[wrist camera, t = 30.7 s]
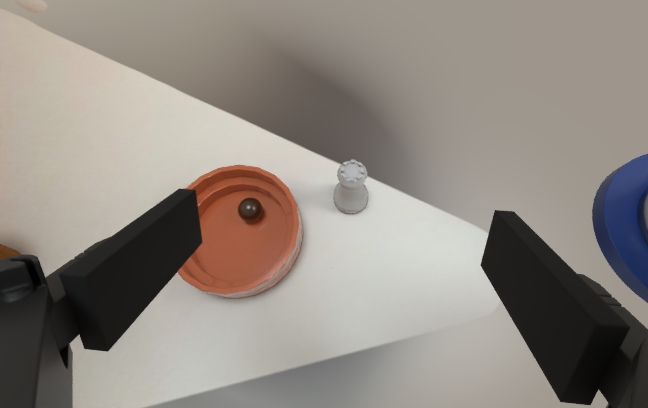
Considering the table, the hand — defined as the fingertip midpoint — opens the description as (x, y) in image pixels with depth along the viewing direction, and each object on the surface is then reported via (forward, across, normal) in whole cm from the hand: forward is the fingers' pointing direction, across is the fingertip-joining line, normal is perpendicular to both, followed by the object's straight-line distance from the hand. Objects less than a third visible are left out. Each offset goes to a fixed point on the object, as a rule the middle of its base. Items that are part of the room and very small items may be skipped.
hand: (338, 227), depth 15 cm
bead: (+23, -12, -10) cm, 28 cm away
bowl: (+22, -13, -14) cm, 29 cm away
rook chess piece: (+27, 0, -10) cm, 29 cm away
